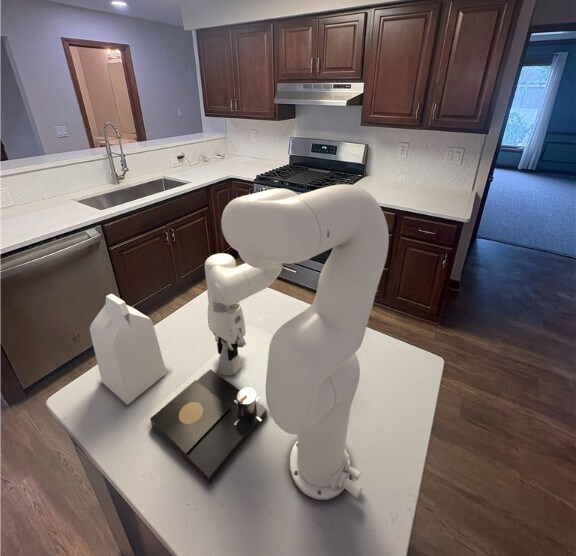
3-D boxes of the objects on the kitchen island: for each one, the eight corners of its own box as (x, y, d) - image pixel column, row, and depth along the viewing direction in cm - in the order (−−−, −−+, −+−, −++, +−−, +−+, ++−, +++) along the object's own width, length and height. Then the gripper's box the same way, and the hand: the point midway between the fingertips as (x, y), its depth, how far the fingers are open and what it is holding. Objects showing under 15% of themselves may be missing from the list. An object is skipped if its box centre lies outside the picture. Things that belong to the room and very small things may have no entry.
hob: (272, 412, 76) (272, 406, 75) (212, 486, 62) (211, 480, 61) (214, 371, 87) (213, 365, 87) (151, 425, 73) (150, 419, 72)
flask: (236, 378, 85) (234, 350, 81) (211, 374, 86) (208, 346, 83) (245, 358, 92) (243, 331, 88) (222, 354, 93) (219, 327, 89)
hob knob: (246, 398, 77) (245, 383, 75) (260, 408, 75) (259, 392, 73) (234, 412, 74) (232, 396, 72) (248, 422, 72) (247, 406, 70)
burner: (230, 408, 75) (230, 407, 75) (186, 455, 65) (185, 453, 65) (195, 381, 82) (195, 379, 82) (150, 420, 72) (150, 418, 72)
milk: (166, 373, 87) (151, 295, 76) (127, 404, 78) (104, 321, 68) (140, 354, 93) (124, 280, 83) (101, 381, 84) (77, 302, 74)
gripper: (257, 304, 79) (259, 359, 86) (212, 282, 87) (217, 334, 95) (236, 320, 73) (240, 377, 80) (191, 295, 82) (198, 349, 89)
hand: (228, 353), depth 87 cm, fingers closed on flask, 3 cm apart
